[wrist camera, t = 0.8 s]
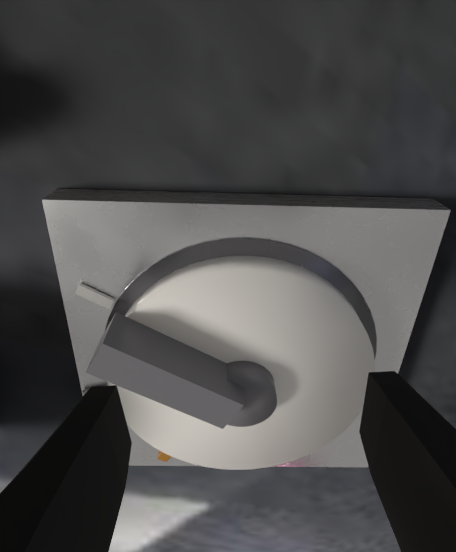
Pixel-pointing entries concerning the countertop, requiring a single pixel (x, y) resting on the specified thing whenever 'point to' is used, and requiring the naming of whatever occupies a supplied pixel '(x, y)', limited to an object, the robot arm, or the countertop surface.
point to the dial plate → (244, 242)
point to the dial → (238, 363)
